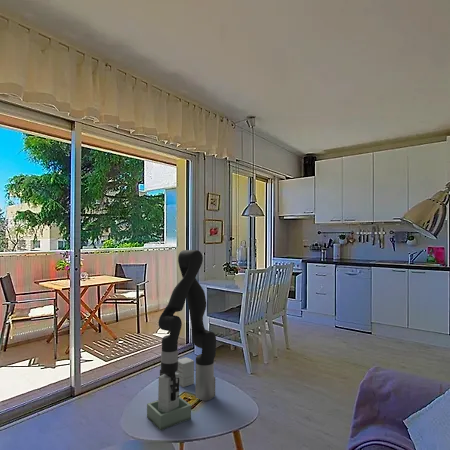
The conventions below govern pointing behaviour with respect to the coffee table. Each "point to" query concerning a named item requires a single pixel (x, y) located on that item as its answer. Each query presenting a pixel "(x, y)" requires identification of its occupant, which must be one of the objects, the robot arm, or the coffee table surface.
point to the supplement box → (185, 371)
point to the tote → (168, 414)
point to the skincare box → (166, 394)
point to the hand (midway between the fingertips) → (168, 397)
